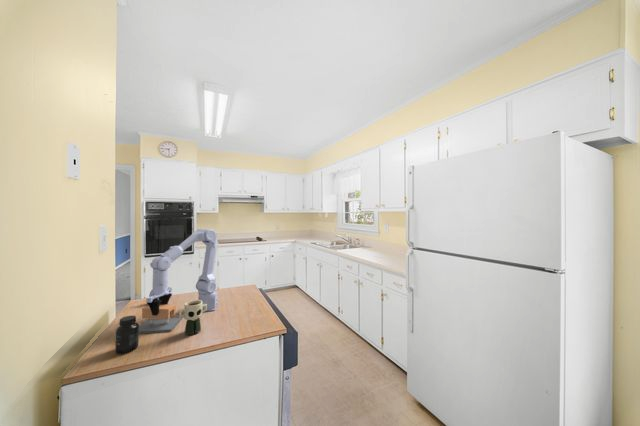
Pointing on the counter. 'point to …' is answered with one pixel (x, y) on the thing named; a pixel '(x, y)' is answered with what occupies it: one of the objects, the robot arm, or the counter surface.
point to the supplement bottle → (127, 335)
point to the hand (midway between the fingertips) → (159, 312)
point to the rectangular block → (159, 312)
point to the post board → (159, 325)
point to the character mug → (193, 315)
